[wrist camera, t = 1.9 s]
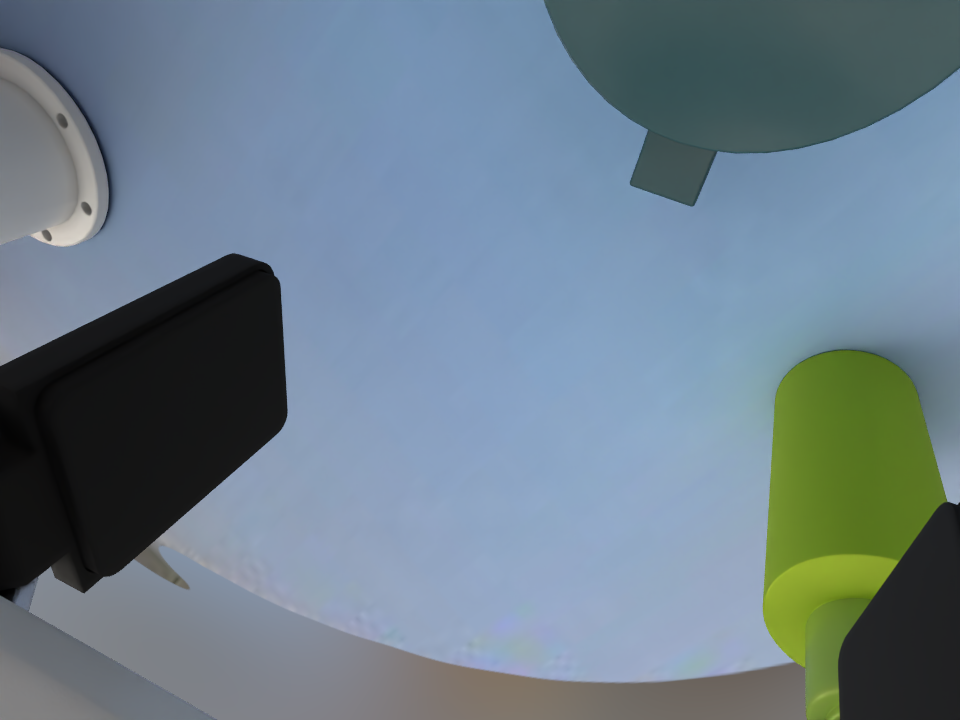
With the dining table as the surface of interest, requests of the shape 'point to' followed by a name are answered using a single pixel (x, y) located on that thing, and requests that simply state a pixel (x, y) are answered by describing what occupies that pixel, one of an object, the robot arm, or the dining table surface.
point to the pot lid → (759, 64)
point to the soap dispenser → (841, 504)
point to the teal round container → (672, 169)
